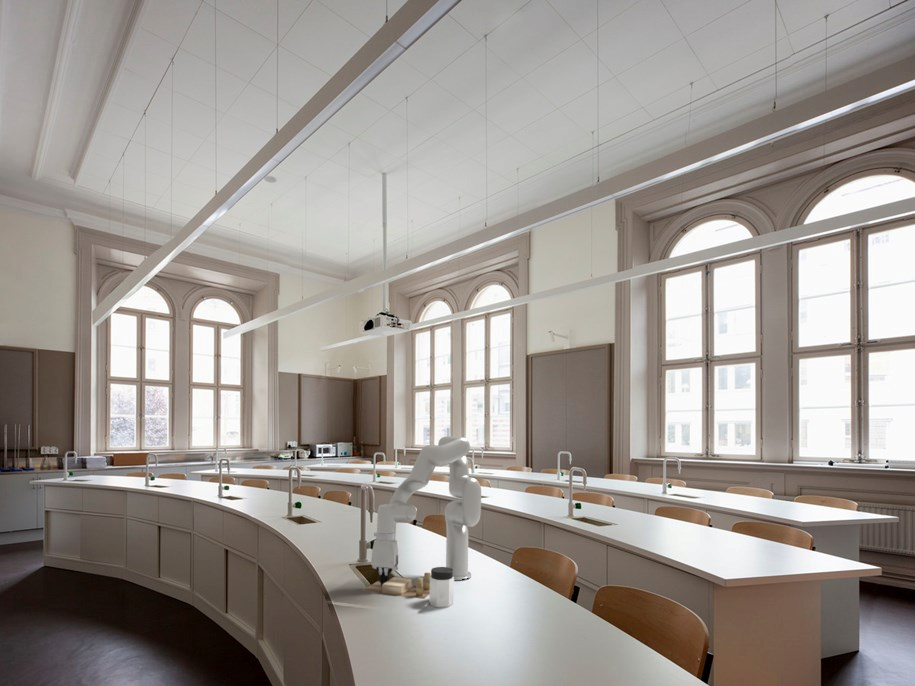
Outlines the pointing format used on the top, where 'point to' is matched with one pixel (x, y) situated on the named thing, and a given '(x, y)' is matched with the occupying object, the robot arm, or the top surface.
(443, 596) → the jar
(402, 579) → the cream rectangular slab
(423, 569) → the top surface
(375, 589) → the board
